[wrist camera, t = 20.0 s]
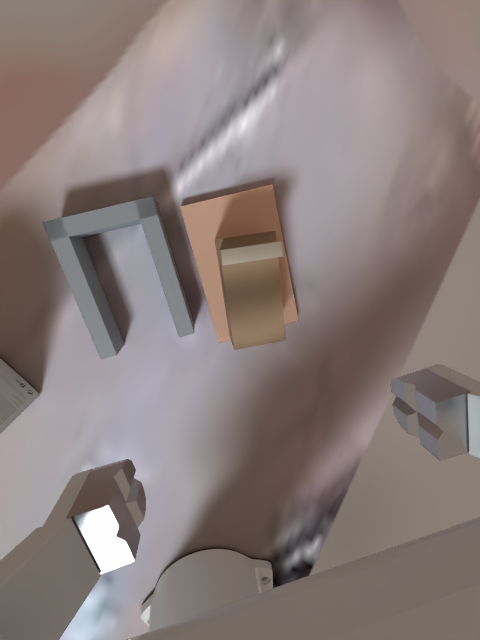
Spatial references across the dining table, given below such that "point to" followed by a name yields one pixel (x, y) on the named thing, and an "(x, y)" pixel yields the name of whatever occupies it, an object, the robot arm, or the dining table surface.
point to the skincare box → (13, 395)
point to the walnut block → (252, 288)
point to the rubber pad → (229, 221)
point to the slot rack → (85, 279)
